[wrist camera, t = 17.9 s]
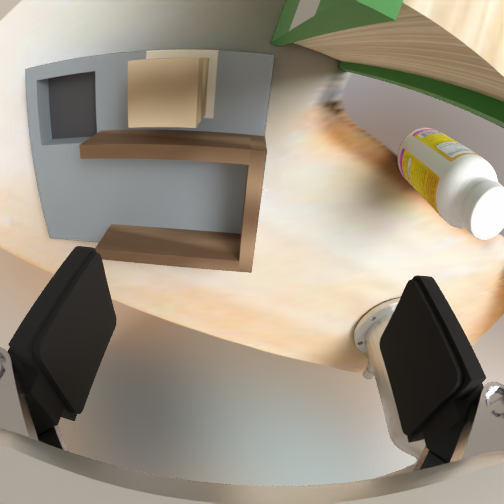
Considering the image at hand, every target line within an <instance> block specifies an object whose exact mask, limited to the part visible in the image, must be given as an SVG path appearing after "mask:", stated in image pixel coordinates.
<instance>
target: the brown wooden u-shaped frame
mask: <svg viewBox="0 0 504 504" xmlns="http://www.w3.org/2000/svg"><path fill="white" fill-rule="evenodd" d="M79 148H80V158H81V159H164V160H187V161H204V162H219V163H232V164H244V165H248V166H247V176H246V185H245V195H244V205H243V216H242V226H241V234H237V233H225V232H213V231H200V230H187V229H174V228H160V227H146V226H132V225H117V224H111V225H110V227H109V228H108V230H107V231H106V233H105V234H104V236H103V237H102V239H101V240H100V242H99V243H98V245H97V247H96V248H95V250H96V252H97V253H99V254H100V255H101V257H102V259H105V260H115V261H125V262H135V263H146V264H156V265H167V266H179V267H190V268H201V269H213V270H225V271H238V272H250V273H251V272H252V264H253V256H254V248H255V241H256V233H257V225H258V217H259V209H260V202H261V194H262V186H263V178H264V170H265V162H266V154H267V149H266V142H265V136H259V135H249V134H237V133H224V132H208V131H187V130H102V131H100V132H98V133H97V134H95V135H94V136H92V137H91V138H89V139H88V140H86V141H85V142H83V143H82V144H80V145H79Z"/></svg>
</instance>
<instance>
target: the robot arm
mask: <svg viewBox="0 0 504 504" xmlns="http://www.w3.org/2000/svg"><path fill="white" fill-rule="evenodd" d="M115 326H116V315H115V311H114V308H113V304H112V300H111V296H110V292H109V288H108V284H107V280H106V275H105V271H104V267H103V262H102V257H101V255H100V254H99V253H97V252H96V250H95V248H92V247H82V246H77V247H75V248H74V250H73V251H72V252H71V253H70V255H69V256H68V257H67V259H66V260H65V261H64V262H63V264H62V265H61V266H60V268H59V269H58V271H57V272H56V273H55V275H54V276H53V277H52V279H51V280H50V281H49V283H48V284H47V286H46V287H45V289H44V290H43V291H42V293H41V294H40V296H39V297H38V299H37V300H36V302H35V303H34V305H33V306H32V308H31V309H30V311H29V312H28V314H27V315H26V317H25V318H24V320H23V321H22V323H21V325H20V326H19V328H18V329H17V331H16V333H15V334H14V336H13V338H12V339H11V341H10V343H9V346H10V348H9V350H8V352H7V351H6V350H5V349H3V348H1V347H0V504H504V385H502V384H500V383H498V382H490V383H488V384H487V385H485V386H484V387H483V384H482V382H483V381H484V380H485V379H486V376H485V374H484V372H483V370H482V368H481V365H480V363H479V361H478V359H477V357H476V355H475V353H474V351H473V349H472V347H471V345H470V343H469V341H468V339H467V337H466V335H465V333H464V331H463V329H462V327H461V325H460V324H459V322H458V320H457V318H456V316H455V314H454V313H453V311H452V309H451V307H450V305H449V304H448V302H447V300H446V299H445V297H444V295H443V293H442V292H441V290H440V288H439V287H438V285H437V283H436V282H435V280H434V279H433V278H432V277H429V276H415V277H413V279H412V280H409V281H408V283H407V285H406V287H405V289H404V291H403V294H402V296H401V298H397V299H392V300H389V301H387V302H384V303H382V304H380V305H378V306H376V307H375V308H373V309H372V310H370V311H369V312H368V313H367V314H366V315H365V316H364V317H363V318H362V319H361V320H360V321H359V323H358V324H357V326H356V328H355V331H354V341H355V344H356V347H357V348H358V349H359V350H360V351H361V352H363V353H365V354H368V356H369V361H368V364H369V365H368V366H367V367H366V368H365V370H364V372H363V376H364V377H365V378H367V379H371V378H372V377H373V376H374V375H375V379H376V382H377V386H378V390H379V394H380V398H381V402H382V406H383V410H384V414H385V418H386V423H387V427H388V432H389V435H390V438H391V440H392V441H393V443H394V444H395V445H396V446H397V447H398V448H399V449H401V450H402V451H404V452H406V453H408V454H410V455H412V456H414V457H415V458H416V459H417V462H416V463H414V464H413V465H410V466H408V467H406V468H405V469H402V470H399V471H396V472H393V473H390V474H387V475H384V476H381V477H378V478H375V479H370V480H363V481H356V482H346V483H336V484H324V485H308V486H245V485H230V484H229V485H228V484H218V483H208V482H199V481H191V480H184V479H177V478H170V477H165V476H159V475H154V474H149V473H144V472H139V471H135V470H131V469H127V468H122V467H118V466H114V465H111V464H107V463H103V462H100V461H97V460H93V459H90V458H86V457H83V456H80V455H77V454H74V453H71V452H69V451H68V449H67V446H66V444H65V442H64V439H63V437H62V434H61V431H60V429H59V426H58V423H59V420H60V417H63V418H66V419H69V420H72V421H75V419H76V416H77V414H80V413H81V412H82V411H83V409H84V405H85V403H86V400H87V397H88V395H89V392H90V389H91V386H92V384H93V381H94V378H95V376H96V373H97V371H98V368H99V366H100V363H101V360H102V358H103V356H104V353H105V350H106V348H107V345H108V343H109V341H110V338H111V336H112V333H113V331H114V329H115Z"/></svg>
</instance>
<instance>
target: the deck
mask: <svg viewBox="0 0 504 504" xmlns="http://www.w3.org/2000/svg"><path fill="white" fill-rule="evenodd" d="M274 56H275V55H272V54H263V53H253V52H240V51H225V50H196V49H177V50H148V51H134V52H122V53H112V54H104V55H96V56H89V57H82V58H76V59H70V60H65V61H59V62H54V63H49V64H45V65H40V66H36V67H32V68H28V69H25V75H26V99H27V113H28V123H29V133H30V141H31V149H32V155H33V162H34V168H35V174H36V179H37V185H38V190H39V195H40V199H41V204H42V208H43V213H44V217H45V221H46V225H47V229H48V233H49V236H50V238H55V239H66V240H78V241H90V242H100V240H101V239H102V237H103V236H104V234H105V233H106V231H107V230H108V228H109V227H110V225H111V224H117V225H132V226H146V227H160V228H174V229H187V230H200V231H213V232H225V233H237V234H241V226H242V216H243V205H244V195H245V185H246V176H247V166H248V165H244V164H232V163H219V162H204V161H187V160H164V159H81V158H80V148H79V145H80V144H82V143H83V142H85V141H86V140H88V139H89V138H91V137H92V136H94V135H95V134H97V133H98V132H100V131H102V130H187V131H208V132H224V133H237V134H249V135H259V136H265V129H266V121H267V113H268V104H269V96H270V88H271V80H272V72H273V64H274ZM178 57H206V58H209V67H208V82H207V98H206V115H205V116H204V117H203V119H202V120H201V122H200V123H199V124H198V126H197V127H196V128H180V127H136V128H128V61H132V60H141V59H151V58H178Z"/></svg>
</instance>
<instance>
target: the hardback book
mask: <svg viewBox="0 0 504 504" xmlns="http://www.w3.org/2000/svg"><path fill="white" fill-rule="evenodd" d="M291 43H294V44H297V45H300V46H303V47H306V48H309V49H312V50H314V51H317V52H320V53H322V54H325V55H327V56H330V57H332V58H335V59H337V60H340V64H339V67H338V68H340V69H342V70H345V71H347V72H351V73H355V74H360V75H363V76H367V77H371V78H375V79H379V80H382V81H385V82H389V83H392V84H396V85H399V86H402V87H405V88H408V89H411V90H414V91H417V92H420V93H423V94H426V95H428V96H432V97H434V98H437V99H439V100H442V101H444V102H447V103H449V104H452V105H454V106H457V107H459V108H462V109H464V110H466V111H469V112H471V113H473V114H475V115H477V116H480V117H482V118H484V119H486V120H488V121H491V122H492V123H495V124H496V125H498V126H500V127H502V128H504V0H286V1H285V4H284V6H283V9H282V12H281V15H280V17H279V20H278V23H277V26H276V28H275V31H274V34H273V37H272V40H271V42H270V44H273V45H276V46H280V47H281V46H284V45H287V44H291Z"/></svg>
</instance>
